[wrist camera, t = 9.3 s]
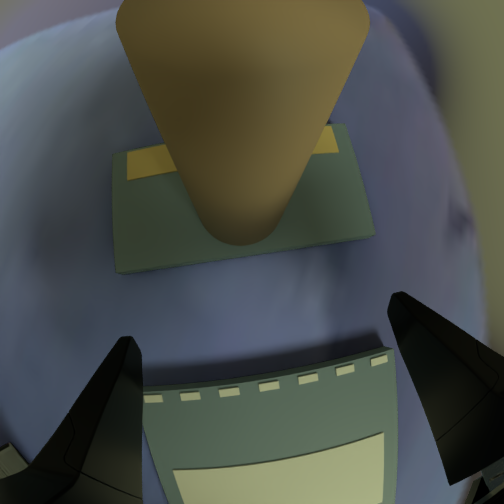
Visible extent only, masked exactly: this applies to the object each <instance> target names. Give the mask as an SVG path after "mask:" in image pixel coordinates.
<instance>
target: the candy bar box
mask: <svg viewBox="0 0 504 504" xmlns="http://www.w3.org/2000/svg"><path fill="white" fill-rule="evenodd" d="M28 466H29V464H28V463H27V462H26V460H25V459H24V458H23V457H22V456H21V455H20V453H19V452H18V451H17V450H16V449H15V448H14V446H13V445H12V444H11V443H10V442H9V443H7V444H5V445H3V446H2V447H0V479H1V478H4V477H7V476H10V475H12V474H15V473H18V472H20V471H22V470H24V469H25V468H26V467H28Z"/></svg>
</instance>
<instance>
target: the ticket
mask: <svg viewBox="0 0 504 504" xmlns="http://www.w3.org/2000/svg"><path fill="white" fill-rule="evenodd" d="M142 424H143V427H144V431H145V434H146V438H147V441H148V445H149V448H150V451H151V454H152V458H153V461H154V464H155V467H156V470H157V473H158V476H159V478H160V481H161V484H162V487H163V489H164V492H165V495H166V497H167V500H168V502H169V504H395V494H396V480H397V458H398V408H397V385H396V370H395V358H394V349H393V348H389V347H385V346H383V347H380V348H376V349H373V350H369V351H365V352H362V353H358V354H354V355H350V356H346V357H342V358H338V359H334V360H330V361H325V362H321V363H317V364H312V365H307V366H302V367H297V368H292V369H287V370H282V371H276V372H271V373H265V374H259V375H252V376H246V377H239V378H231V379H224V380H215V381H207V382H197V383H186V384H174V385H160V386H143V418H142Z"/></svg>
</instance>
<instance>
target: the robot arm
mask: <svg viewBox="0 0 504 504" xmlns="http://www.w3.org/2000/svg"><path fill="white" fill-rule="evenodd" d="M387 314H388V318H389V320H390V323H391V326H392V329H393V332H394V335H395V338H396V341H397V345H398V347H399V350H400V353H401V355H402V357H403V360H404V362H405V364H406V367H407V369H408V371H409V374H410V376H411V378H412V381H413V383H414V386H415V388H416V391H417V393H418V396H419V398H420V401H421V403H422V406H423V408H424V411H425V414H426V416H427V419H428V422H429V425H430V427H431V430H432V433H433V436H434V439H435V441H436V445H437V448H438V451H439V454H440V457H441V460H442V463H443V466H444V469H445V473H446V476H447V479H448V483H449V485H450V486H451V485H453V484H455V483H457V482H459V481H461V480H463V479H465V478H467V477H469V476H471V475H473V474H475V473H477V472H479V471H481V473H482V476H481V477H479V478H478V479H476V480H475V481H473V484H472V487H471V489H470V492H469V494H468V497H467V499H466V502H465V504H504V357H503V356H501V355H500V354H498V353H497V352H495V351H493V350H492V349H490V348H489V347H487V346H486V345H484V344H483V343H481V342H480V341H478V340H475V338H474V337H472V336H471V335H469V334H468V333H466V332H465V331H463V330H462V329H461V328H459V327H458V326H456V325H455V324H453V323H452V322H450V321H449V320H447V319H445V318H444V317H442V316H441V315H439V314H438V313H436V312H435V311H433V310H432V309H430V308H429V307H427V306H426V305H424V304H422V303H421V302H419V301H418V300H416V299H415V298H413V297H411V296H410V295H408V294H407V293H405V292H403V291H400V292H396V293H393V294H392V296H391V299H390V302H389V305H388V309H387ZM142 418H143V375H142V354H141V351H140V349H139V347H138V345H137V343H136V342H135V340H134V338H133V337H132V336H123V337H120V338H119V339H118V341H117V342H116V344H115V345H114V346H113V348H112V349H111V351H110V352H109V353H108V355H107V356H106V358H105V359H104V360H103V362H102V363H101V365H100V366H99V368H98V369H97V370H96V372H95V373H94V375H93V376H92V378H91V379H90V381H89V382H88V384H87V385H86V386H85V388H84V389H83V391H82V392H81V394H80V395H79V397H78V398H77V400H76V401H75V403H74V404H73V406H72V407H71V409H70V410H69V413H67V415H66V416H65V418H64V420H63V421H62V423H61V424H60V425H59V427H58V428H57V430H56V431H55V433H54V434H53V435H52V437H51V438H50V439H49V441H48V442H47V443H46V444H45V446H44V447H43V448H42V450H41V451H40V452H39V453H38V455H37V456H36V457H35V459H34V460H33V461H32V462H31V464H30V465H29V466H28V467H26V468H25V469H24V470H22V471H20V472H18V473H15V474H12V475H10V476H7V477H4V478H1V479H0V504H143V500H142Z"/></svg>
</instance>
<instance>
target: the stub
mask: <svg viewBox="0 0 504 504" xmlns="http://www.w3.org/2000/svg"><path fill="white" fill-rule="evenodd" d="M369 27H370V19H369V14H368V11H367V9H366V7H365V5H364V3H363V2H362V0H124V1H123V3H122V4H121V6H120V8H119V10H118V13H117V17H116V30H117V33H118V35H119V38H120V40H121V43H122V45H123V47H124V50H125V52H126V55H127V57H128V60H129V62H130V64H131V67H132V69H133V71H134V74H135V76H136V79H137V81H138V83H139V86H140V88H141V90H142V93H143V95H144V97H145V100H146V102H147V104H148V106H149V109H150V111H151V113H152V116H153V118H154V120H155V122H156V125H157V127H158V129H159V131H160V134H161V136H162V138H163V140H164V143H160V144H155V145H150V146H145V147H141V148H136V149H132V150H127V151H123V152H119V153H115V154H113V155H112V223H113V243H114V258H115V270H116V273H118V274H122V275H123V274H130V273H137V272H144V271H151V270H158V269H165V268H171V267H178V266H185V265H192V264H199V263H205V262H212V261H219V260H226V259H232V258H239V257H246V256H253V255H259V254H266V253H273V252H279V251H286V250H293V249H299V248H306V247H313V246H319V245H326V244H332V243H339V242H346V241H352V240H359V239H365V238H369V237H371V236H373V235H375V229H374V225H373V220H372V216H371V212H370V208H369V204H368V200H367V196H366V192H365V188H364V185H363V181H362V177H361V174H360V170H359V167H358V163H357V160H356V157H355V153H354V150H353V147H352V144H351V141H350V138H349V135H348V131H347V128H346V126H345V124H326V123H327V121H328V119H329V116H330V114H331V112H332V110H333V108H334V106H335V104H336V102H337V99H338V97H339V95H340V93H341V91H342V89H343V86H344V84H345V82H346V80H347V78H348V76H349V74H350V71H351V69H352V67H353V65H354V63H355V61H356V58H357V56H358V54H359V52H360V50H361V47H362V45H363V43H364V41H365V39H366V36H367V34H368V31H369Z"/></svg>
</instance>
